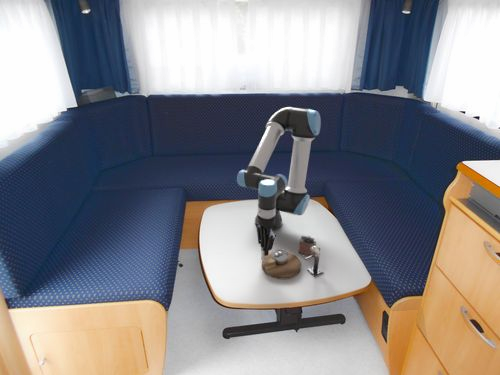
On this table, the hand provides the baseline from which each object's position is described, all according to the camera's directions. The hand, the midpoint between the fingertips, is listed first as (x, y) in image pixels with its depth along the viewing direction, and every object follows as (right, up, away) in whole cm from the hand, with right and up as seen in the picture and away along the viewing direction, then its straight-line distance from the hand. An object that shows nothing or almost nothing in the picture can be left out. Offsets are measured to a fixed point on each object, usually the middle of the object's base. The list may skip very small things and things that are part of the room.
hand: (264, 259), depth 159 cm
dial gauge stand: (+22, -6, -2) cm, 22 cm away
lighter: (+21, 0, +11) cm, 24 cm away
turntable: (+8, -4, +2) cm, 9 cm away
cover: (+7, -1, +2) cm, 8 cm away
